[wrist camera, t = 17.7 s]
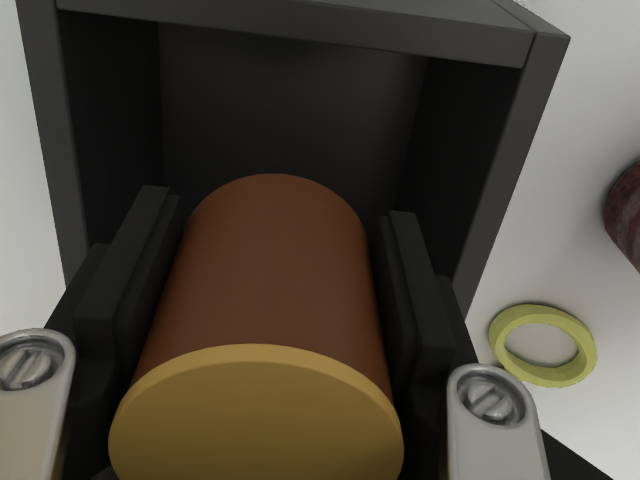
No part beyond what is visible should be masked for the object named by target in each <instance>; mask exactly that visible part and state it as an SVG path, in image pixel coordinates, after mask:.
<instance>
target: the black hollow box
mask: <svg viewBox="0 0 640 480" xmlns="http://www.w3.org/2000/svg"><path fill="white" fill-rule="evenodd" d="M15 1H16V7H17V12H18V18H19V24H20V29H21V35H22V41H23V46H24V52H25V58H26V63H27V69H28V75H29V80H30V86H31V92H32V97H33V103H34V109H35V114H36V120H37V126H38V131H39V137H40V143H41V149H42V154H43V160H44V166H45V171H46V177H47V183H48V188H49V194H50V200H51V205H52V211H53V217H54V222H55V228H56V234H57V239H58V245H59V251H60V256H61V262H62V268H63V273H64V279H65V285H66V289H67V287H68V286H69V284H70V282H71V281H72V279H73V277H74V276H75V274H76V272H77V270H78V269H79V267H80V265H81V264H82V262H83V260H84V259H85V257H86V255H87V254H88V252H89V250H90V249H91V247H92V246H93V245H94V244H96V243H102V244H111V243H112V241H113V240H114V238H115V236H116V234H117V232H118V230H119V229H120V227H121V225H122V223H123V221H124V219H125V217H126V216H127V214H128V212H129V210H130V208H131V206H132V205H133V203H134V201H135V199H136V197H137V195H138V193H139V192H140V190H141V188H142V186H143V185H149V186H159V187H169V188H172V190H173V195H179V196H182V202H183V233H184V230H185V227H186V225H187V222H188V220H189V218H190V216H191V215H192V213H193V211H194V210H195V208H196V207H197V206H198V205H199V204H200V203H201V201H202V200H203V199H205V198H206V197H207V196H208V195H209V194H210V193H212V192H213V191H215V190H216V189H218V188H219V187H221V186H223V185H225V184H227V183H229V182H232V181H234V180H237V179H240V178H243V177H247V176H253V175H258V174H287V175H293V176H298V177H302V178H305V179H308V180H311V181H314V182H316V183H318V184H321V185H323V186H324V187H326V188H328V189H330V190H331V191H333V192H334V193H336V194H337V195H338V196H340V197H341V198H342V199H343V200H344V201H345V202H346V203H347V204H348V205H349V206H350V207H351V208H352V209H353V211H354V212H355V213H356V215H357V216H358V218H359V219H360V221H361V223H362V225H363V227H364V230H365V233H366V236H367V241H368V246H369V250H370V246H371V241H372V237H373V232H374V228H375V223H376V219H377V217H378V216H385V217H386V214H387V212H388V210H392V211H401V212H411V213H415V215H416V217H417V221H418V224H419V227H420V230H421V233H422V237H423V240H424V243H425V246H426V249H427V253H428V256H429V259H430V262H431V265H432V268H433V272H434V275H444V276H447V277H448V278H449V280H450V281H451V284H452V287H453V290H454V293H455V296H456V298H457V301H458V304H459V307H460V310H461V313H462V316H463V318H464V321H465V319H466V316H467V314H468V311H469V308H470V306H471V303H472V300H473V298H474V295H475V292H476V290H477V287H478V284H479V282H480V279H481V276H482V274H483V271H484V268H485V266H486V263H487V260H488V258H489V255H490V252H491V250H492V247H493V244H494V242H495V239H496V236H497V234H498V231H499V228H500V226H501V223H502V220H503V218H504V215H505V212H506V210H507V207H508V205H509V202H510V199H511V197H512V194H513V191H514V189H515V186H516V183H517V181H518V178H519V175H520V173H521V170H522V167H523V165H524V162H525V159H526V157H527V154H528V151H529V149H530V146H531V143H532V141H533V138H534V135H535V133H536V130H537V127H538V125H539V122H540V119H541V117H542V114H543V111H544V109H545V106H546V103H547V101H548V98H549V96H550V93H551V90H552V88H553V85H554V82H555V80H556V77H557V74H558V72H559V69H560V66H561V64H562V61H563V58H564V56H565V53H566V50H567V48H568V45H569V42H570V39H571V37H570V36H569V35H567V34H566V33H564V32H563V31H561V30H559V29H558V28H556V27H555V26H553V25H551V24H550V23H548V22H547V21H545V20H543V19H542V18H540V17H539V16H537V15H535V14H534V13H532V12H531V11H529V10H527V9H526V8H524V7H523V6H521V5H519V4H518V3H516V2H515V1H513V0H15Z"/></svg>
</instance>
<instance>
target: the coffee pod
mask: <svg viewBox="0 0 640 480" xmlns="http://www.w3.org/2000/svg"><path fill="white" fill-rule="evenodd" d="M108 452H109V457H110V461H111V465H112V467H113V469H114V471H115V473H116V475H117V477H118V478H119V480H397V478H398V476H399V474H400V472H401V468H402V464H403V460H404V442H403V436H402V431H401V425H400V421H399V418H398V416H397V413H396V411H395V409H394V403H393V396H392V390H391V384H390V378H389V371H388V365H387V359H386V353H385V346H384V340H383V334H382V328H381V321H380V315H379V309H378V303H377V296H376V290H375V284H374V278H373V271H372V265H371V259H370V253H369V246H368V241H367V236H366V233H365V230H364V227H363V225H362V223H361V221H360V219H359V218H358V216H357V215H356V213H355V212H354V211H353V209H352V208H351V207H350V206H349V205H348V204H347V203H346V202H345V201H344V200H343V199H342V198H341V197H340V196H338V195H337V194H336V193H334V192H333V191H331V190H330V189H328V188H326V187H324V186H323V185H321V184H318V183H316V182H314V181H311V180H308V179H305V178H302V177H298V176H293V175H287V174H258V175H253V176H247V177H243V178H240V179H237V180H234V181H232V182H229V183H227V184H225V185H223V186H221V187H219V188H218V189H216V190H215V191H213V192H212V193H210V194H209V195H208V196H207V197H206V198H205V199H203V200H202V201H201V203H200V204H199V205H198V206H197V207H196V208H195V210H194V211H193V213H192V215H191V216H190V218H189V220H188V222H187V225H186V227H185V230H184V233H183V236H182V238H181V241H180V244H179V247H178V250H177V253H176V255H175V258H174V261H173V264H172V267H171V269H170V272H169V275H168V278H167V281H166V284H165V286H164V289H163V292H162V295H161V298H160V300H159V303H158V306H157V309H156V312H155V315H154V317H153V320H152V323H151V326H150V329H149V332H148V334H147V337H146V340H145V343H144V346H143V348H142V351H141V354H140V357H139V360H138V363H137V365H136V368H135V371H134V374H133V377H132V380H131V382H130V385H129V388H128V391H127V393H126V394H125V396H124V397H123V399H122V400H121V402H120V404H119V406H118V409H117V411H116V413H115V416H114V419H113V422H112V424H111V427H110V432H109V437H108Z"/></svg>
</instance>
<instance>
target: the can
mask: <svg viewBox="0 0 640 480" xmlns="http://www.w3.org/2000/svg"><path fill="white" fill-rule="evenodd" d="M604 220H605V229H606V230H607V232H608V234H609V236H610V237H611V239H612V241H613V242H614V243H615V244H616V245H617V247H618V248H619V249H620V250H621V252H622V253H623V254H624V255H625V256H626V258H627V259H628V260H629V261H630V262H631V264H632V265H633V266H634V267H635V268H636V270H637V271H638V272H639V273H640V160H639V161H638V162H636V163H634V164H633V165H632V166H631V167H630V168H629V169H628V170H627V171H625V172H624V173H623V174H622V175H621V176H620V177H619V179H618V180H617V182H616V183H615V185H614V186H613V188H612V189H611V191H610V193H609V197H608V200H607V203H606V207H605V211H604Z"/></svg>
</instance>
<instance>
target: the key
mask: <svg viewBox="0 0 640 480" xmlns="http://www.w3.org/2000/svg"><path fill="white" fill-rule="evenodd" d="M529 323H541V324H549V325H553V326H555V327H558V328H560V329H561V330H563V331H564V332H566V333H567V334H568V335H569V336H570V337H571V338H572V339H573V340H574V341H575V342H576V344H577V346H578V348H579V351H578V354H577V356H576V357H575V358H574V359H573V360H572V361H570V362H569V363H567V364H565V365H563V366H560V367H556V368H545V367H539V366H534V365H532V364H529V363H526V362H524V361H522V360H520V359H518V358H517V357H515V356H514V355H512V354H511V353H510V352H508V351H507V350H506V348H505V346H504V342H505V339H506V338H507V336H508V335H509V333H510V332H511V331H512V330H513V329H515V328H517V327H519V326H521V325H524V324H529ZM488 339H489V343H490V346H491V349H492V351H493V354H494V355H495V357H496V358H497V359H498V360H499V361H500V363H501V364H502V365H503V366H504V367H505V368H504V369H502V368H500V369H502V370H504V371H506V372H507V373H509V374H511V375H513V376H514V377H515V378H516V379H518V380H519V381H520V382H521V381H522V380H525V381H527V382H530V383H532V384H535V385H538V386H543V387H551V388H561V387H566V386H570V385H573V384H576V383H578V382H580V381H581V380H583V379H584V378H585V377H587V376H588V375H589V374H590V373H591V372H592V370H593V369H594V367H595V365H596V361H597V351H596V347H595V344H594V340H593V337H592V335H591V333H590V331H589V330H588V329H587V327H586V326H584V325H583V324H582V323H581V322H580V321H578V320H577V319H576V318H574V317H572V316H571V315H569V314H567V313H564V312H562V311H559V310H557V309H555V308H551V307H548V306H542V305H532V304H525V305H517V306H513V307H510V308H508V309H506V310H504V311H502V312H501V313H500V314H499V315H498V316H497V317H496V318H495V319H494V320H493V321H492V323H491V325H490V327H489V332H488ZM497 368H498V367H497Z"/></svg>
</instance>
